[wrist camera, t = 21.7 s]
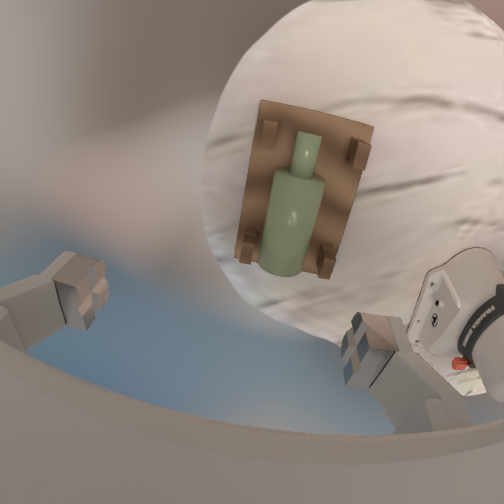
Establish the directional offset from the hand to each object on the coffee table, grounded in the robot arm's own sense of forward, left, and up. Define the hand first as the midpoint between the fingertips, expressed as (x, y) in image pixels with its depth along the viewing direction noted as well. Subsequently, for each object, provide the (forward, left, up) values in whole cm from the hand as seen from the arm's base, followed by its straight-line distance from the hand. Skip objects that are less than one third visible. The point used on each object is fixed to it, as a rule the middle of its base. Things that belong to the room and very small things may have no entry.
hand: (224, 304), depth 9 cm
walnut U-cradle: (-6, -5, -31) cm, 32 cm away
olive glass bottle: (-15, -4, -27) cm, 31 cm away
